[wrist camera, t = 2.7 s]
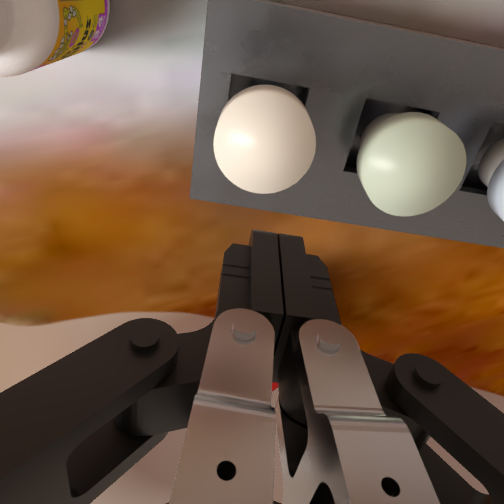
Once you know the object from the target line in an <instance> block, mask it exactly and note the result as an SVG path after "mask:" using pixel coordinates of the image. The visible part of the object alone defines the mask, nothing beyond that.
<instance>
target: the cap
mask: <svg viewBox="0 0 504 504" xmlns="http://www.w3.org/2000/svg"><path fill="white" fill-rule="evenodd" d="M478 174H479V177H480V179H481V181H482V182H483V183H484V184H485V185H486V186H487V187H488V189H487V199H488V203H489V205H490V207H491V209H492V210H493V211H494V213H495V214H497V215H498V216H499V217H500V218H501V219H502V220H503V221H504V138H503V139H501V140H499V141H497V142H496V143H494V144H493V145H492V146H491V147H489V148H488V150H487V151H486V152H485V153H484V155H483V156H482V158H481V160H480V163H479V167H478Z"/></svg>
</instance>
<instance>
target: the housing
mask: <svg viewBox="0 0 504 504" xmlns="http://www.w3.org/2000/svg"><path fill="white" fill-rule="evenodd" d="M256 85H274V86H278V87H281V88H284V89H286V90H288V91H289V92H291V93H292V94H294V95H295V96H296V97H297V98H298V99H299V100H300V101H301V102H302V104H303V105H304V106H305V108H306V110H307V112H308V114H309V117H310V120H311V122H312V125H313V128H314V131H315V136H316V150H315V155H314V158H313V161H312V163H311V165H310V167H309V169H308V171H307V172H306V173H305V175H304V176H303V177H302V178H301V179H300V180H299V181H298V182H297V183H295V184H294V185H292V186H291V187H289V188H287V189H285V190H282V191H279V192H275V193H269V194H260V193H253V192H249V191H246V190H243V189H241V188H239V187H238V186H236V185H235V184H233V183H232V182H231V181H230V180H228V179H227V177H226V176H225V175H224V174H223V172H222V171H221V170H220V168H219V166H218V164H217V161H216V158H215V154H214V146H213V143H214V134H215V130H216V127H217V123H218V120H219V117H220V114H221V112H222V110H223V108H224V107H225V105H226V104H227V102H228V101H229V100H230V99H231V98H232V97H233V96H234V95H236V94H237V93H239V92H240V91H242V90H244V89H246V88H248V87H252V86H256ZM394 112H396V113H406V112H420V113H425V114H428V115H430V116H433V117H434V118H436V119H437V120H439V121H440V122H441V123H443V124H444V125H445V126H447V127H448V128H449V129H451V130H452V131H453V132H454V133H456V134H457V135H458V137H459V138H460V139H461V141H462V143H463V145H464V148H465V151H466V169H465V172H464V175H463V178H462V180H461V182H460V184H459V186H458V187H457V189H456V190H455V191H454V193H453V194H452V195H451V196H450V197H449V198H448V199H447V200H446V201H445V202H443V203H442V204H440V205H439V206H437V207H436V208H434V209H432V210H430V211H428V212H425V213H422V214H419V215H415V216H395V215H391V214H388V213H385V212H383V211H382V210H380V209H379V208H377V207H376V206H375V205H374V204H373V203H372V202H371V200H370V199H369V197H368V195H367V193H366V191H365V189H364V187H363V185H362V183H361V181H360V179H359V177H358V173H357V156H358V152H359V150H360V139H361V136H362V133H363V132H364V130H365V128H366V127H367V126H368V124H369V123H370V122H372V121H373V120H374V119H375V118H377V117H379V116H381V115H383V114H386V113H394ZM503 138H504V48H502V47H497V46H492V45H487V44H482V43H477V42H472V41H467V40H462V39H457V38H452V37H448V36H443V35H438V34H433V33H428V32H423V31H418V30H413V29H408V28H403V27H398V26H393V25H388V24H383V23H378V22H373V21H368V20H363V19H358V18H354V17H349V16H344V15H339V14H334V13H329V12H324V11H319V10H314V9H309V8H304V7H299V6H294V5H289V4H284V3H279V2H274V1H269V0H208V6H207V17H206V28H205V38H204V49H203V60H202V71H201V82H200V92H199V103H198V114H197V125H196V135H195V146H194V157H193V168H192V178H191V189H190V198H191V199H197V200H203V201H210V202H216V203H222V204H229V205H235V206H241V207H248V208H254V209H260V210H266V211H273V212H279V213H285V214H292V215H298V216H304V217H311V218H317V219H323V220H330V221H336V222H342V223H349V224H355V225H361V226H368V227H374V228H380V229H387V230H393V231H399V232H405V233H412V234H418V235H424V236H431V237H437V238H443V239H450V240H456V241H462V242H469V243H475V244H481V245H488V246H494V247H500V248H504V221H503V220H502V219H501V218H500V217H499V216H498V215H497V214H495V213H494V211H493V210H492V209H491V207H490V205H489V203H488V199H487V189H488V187H487V186H486V185H485V184H484V183H483V182H482V181H481V179H480V177H479V174H478V167H479V163H480V160H481V158H482V156H483V155H484V153H485V152H486V151H487V150H488V148H489V147H491V146H492V145H493V144H494V143H496V142H497V141H499V140H501V139H503Z"/></svg>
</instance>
